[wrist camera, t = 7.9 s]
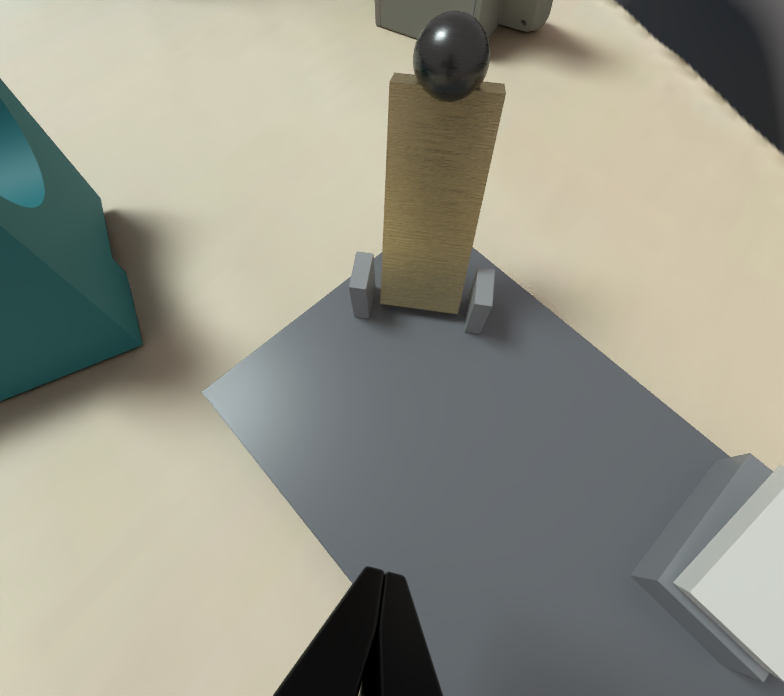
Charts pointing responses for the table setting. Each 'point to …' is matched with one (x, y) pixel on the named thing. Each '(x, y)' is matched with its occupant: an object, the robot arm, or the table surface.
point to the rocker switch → (746, 576)
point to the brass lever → (437, 163)
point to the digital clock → (485, 3)
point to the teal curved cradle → (53, 263)
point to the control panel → (500, 488)
